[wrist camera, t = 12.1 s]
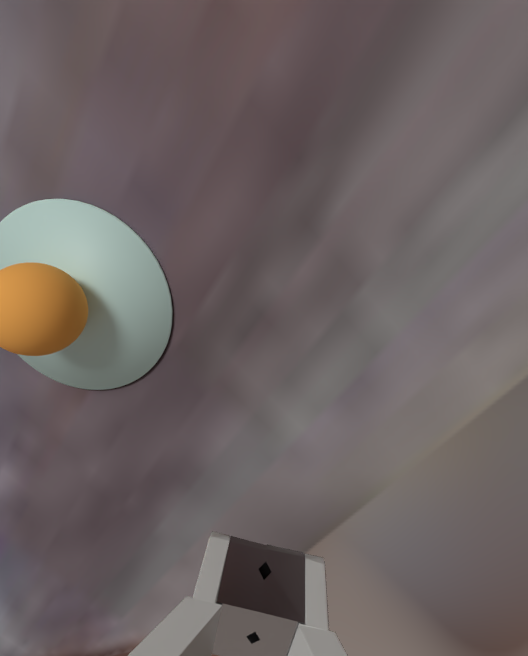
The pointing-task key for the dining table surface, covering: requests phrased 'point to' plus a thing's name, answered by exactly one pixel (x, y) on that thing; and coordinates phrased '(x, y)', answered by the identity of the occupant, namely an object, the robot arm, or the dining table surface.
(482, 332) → the dining table surface
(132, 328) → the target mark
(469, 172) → the dining table surface
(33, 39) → the dining table surface
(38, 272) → the ball
